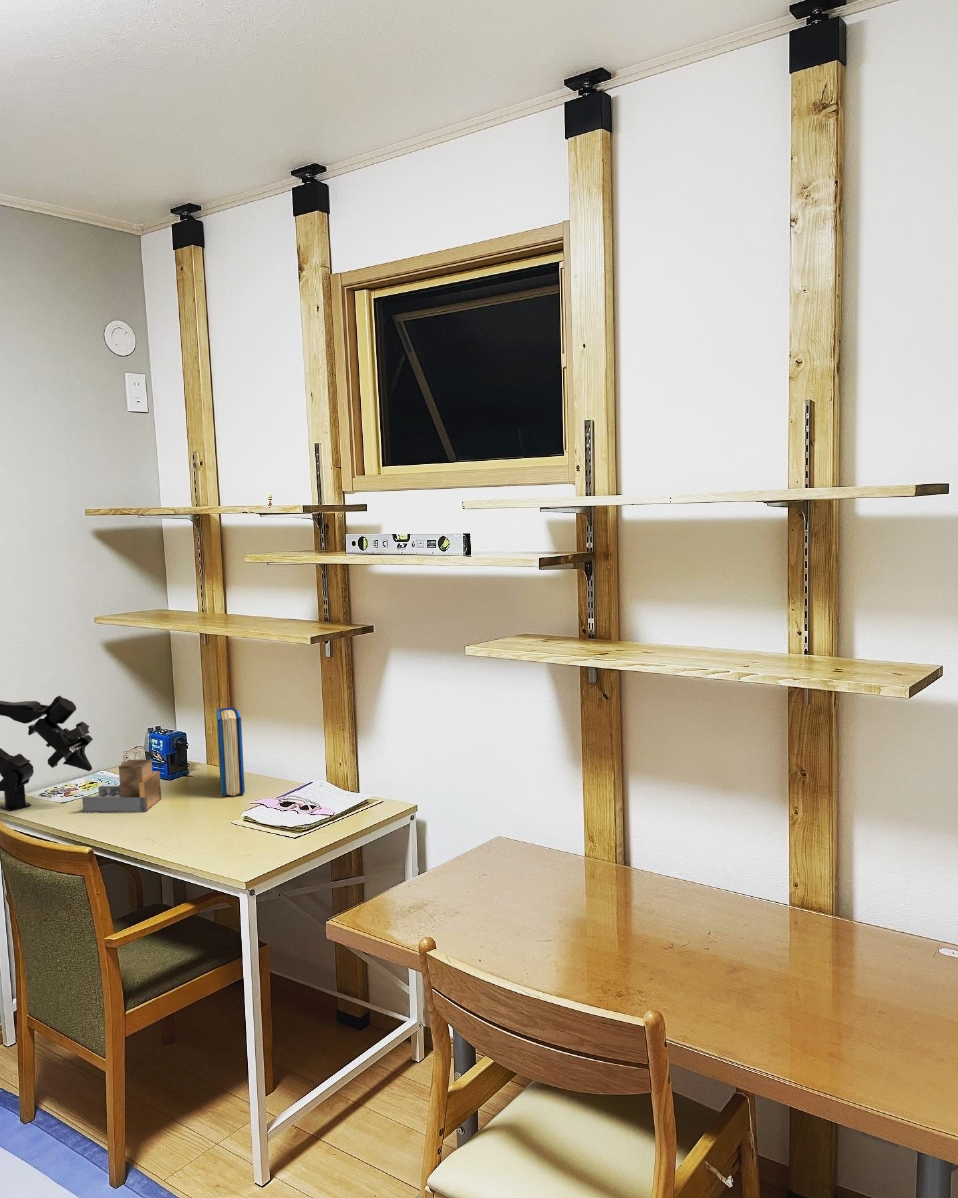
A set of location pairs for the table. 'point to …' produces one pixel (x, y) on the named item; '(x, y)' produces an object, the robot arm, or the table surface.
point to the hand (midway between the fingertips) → (91, 770)
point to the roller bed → (125, 797)
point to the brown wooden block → (133, 776)
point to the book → (230, 751)
